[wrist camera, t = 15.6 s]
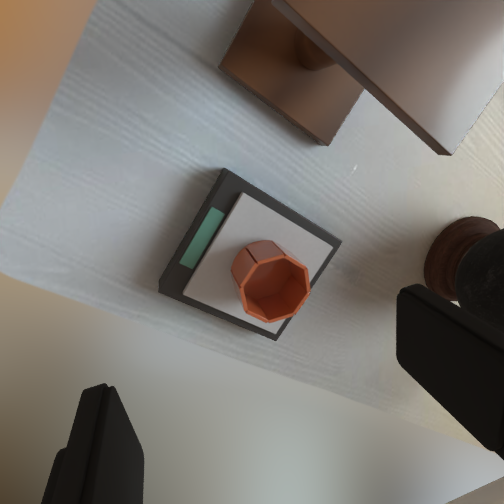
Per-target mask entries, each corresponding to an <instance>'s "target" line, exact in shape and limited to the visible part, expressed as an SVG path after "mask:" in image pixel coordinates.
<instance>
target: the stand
mask: <svg viewBox="0 0 504 504" xmlns="http://www.w3.org/2000/svg"><path fill="white" fill-rule="evenodd" d="M218 68H219V69H221V70H222V71H223V72H225V73H226V74H227V75H229V76H230V77H231V78H233V79H234V80H235V81H237V82H238V83H239V84H240V85H242V86H243V87H244V88H246V89H247V90H248V91H250V92H251V93H252V94H254V95H255V96H256V97H258V98H259V99H260V100H262V101H263V102H264V103H266V104H267V105H268V106H270V107H271V108H272V109H274V110H275V111H276V112H278V113H279V114H280V115H282V116H283V117H284V118H286V119H287V120H288V121H290V122H291V123H292V124H294V125H295V126H296V127H297V128H299V129H300V130H301V131H303V132H304V133H305V134H307V135H308V136H309V137H311V138H312V139H313V140H315V141H316V142H317V143H319V144H320V145H321V146H329V145H330V143H331V141H332V140H333V138H334V137H335V135H336V133H337V132H338V130H339V129H340V127H341V125H342V124H343V122H344V121H345V119H346V117H347V116H348V114H349V113H350V111H351V109H352V108H353V106H354V105H355V103H356V101H357V100H358V98H359V97H360V95H361V93H362V92H363V90H364V89H366V90H367V91H368V92H369V93H370V94H372V95H373V96H374V97H375V98H376V99H377V100H378V101H379V102H380V103H381V104H383V105H384V106H385V107H386V108H387V109H388V110H389V111H390V112H391V113H393V114H394V115H395V116H396V117H397V118H398V119H399V120H400V121H401V122H402V123H404V124H405V125H406V126H407V127H408V128H409V129H410V130H411V131H412V132H413V133H415V134H416V135H417V136H418V137H419V138H420V139H421V140H422V141H423V142H425V143H426V144H427V145H428V146H429V147H430V148H431V149H432V150H433V151H434V152H436V153H437V154H438V155H447V156H452V155H453V153H454V152H455V150H456V149H457V147H458V146H459V145H460V143H461V142H462V140H463V139H464V137H465V136H466V135H467V133H468V132H469V130H470V129H471V127H472V126H473V124H474V123H475V122H476V120H477V119H478V117H479V116H480V114H481V113H482V112H483V110H484V109H485V107H486V106H487V104H488V103H489V102H490V100H491V99H492V97H493V96H494V94H495V93H496V92H497V90H498V89H499V87H500V86H501V84H502V83H503V81H504V0H254V1H253V3H252V4H251V6H250V8H249V10H248V12H247V14H246V16H245V17H244V19H243V21H242V23H241V25H240V27H239V29H238V30H237V32H236V34H235V36H234V38H233V40H232V41H231V43H230V45H229V47H228V49H227V51H226V53H225V54H224V56H223V58H222V60H221V62H220V64H219V66H218Z"/></svg>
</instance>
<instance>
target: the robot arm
mask: <svg viewBox="0 0 504 504" xmlns="http://www.w3.org/2000/svg"><path fill="white" fill-rule="evenodd" d="M396 356H397V360H398V362H399V364H400V365H401V367H402V368H403V369H404V370H405V371H407V372H408V373H409V374H410V375H411V376H412V377H413V378H414V379H415V380H416V381H417V382H418V383H419V384H420V385H421V386H422V387H423V388H424V389H425V390H426V391H427V392H428V393H429V394H430V395H431V396H432V397H433V398H434V399H435V400H437V401H438V402H439V403H440V404H441V405H442V406H443V407H444V408H445V409H446V410H447V411H448V412H449V413H450V414H451V415H452V416H453V417H454V418H455V419H456V420H457V421H458V422H459V423H460V424H461V425H462V426H463V427H464V428H465V429H467V430H468V431H469V432H470V433H471V434H472V435H473V436H474V437H475V438H476V439H477V440H478V441H479V442H480V443H481V444H482V445H483V446H484V447H485V448H487V449H488V450H490V451H495V452H496V453H497V454H498V455H499V456H500V457H501V458H502V459H503V460H504V333H503V332H501V331H500V330H498V329H496V328H494V327H493V326H491V325H489V324H488V323H486V322H484V321H483V320H481V319H479V318H477V317H476V316H474V315H472V314H471V313H469V312H467V311H465V310H464V309H462V308H460V307H459V306H457V305H455V304H453V303H452V302H450V301H448V300H447V299H445V298H443V297H442V296H440V295H438V294H436V293H435V292H433V291H431V290H430V289H428V288H426V287H424V286H423V285H421V284H414V285H411V286H408V287H404V288H402V289H401V290H400V293H399V294H398V295H397V306H396ZM143 482H144V454H143V450H142V447H141V444H140V443H139V440H138V438H137V436H136V433H135V431H134V429H133V426H132V424H131V422H130V420H129V417H128V415H127V413H126V411H125V409H124V406H123V404H122V402H121V400H120V397H119V395H118V393H117V391H116V388H115V387H114V386H111V387H108V386H107V384H105V383H103V384H100V385H97V386H94V387H91V388H87V389H85V390H83V392H82V394H81V398H80V401H79V405H78V408H77V412H76V416H75V419H74V423H73V426H72V430H71V433H70V437H69V441H68V444H67V447H66V448H63V449H61V450H60V451H59V452H58V453H57V455H56V457H55V460H54V463H53V467H52V470H51V473H50V476H49V479H48V483H47V486H46V489H45V492H44V496H43V499H42V502H41V504H143ZM446 504H504V477H502V478H500V479H498V480H496V481H493V482H491V483H489V484H487V485H485V486H482V487H480V488H478V489H476V490H474V491H472V492H470V493H467V494H465V495H463V496H461V497H459V498H457V499H455V500H452V501H450V502H448V503H446Z"/></svg>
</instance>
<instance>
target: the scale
mask: <svg viewBox="0 0 504 504" xmlns="http://www.w3.org/2000/svg"><path fill="white" fill-rule="evenodd" d="M260 240H270V241H271V240H272V241H274V242H276V243H278V244H280V245H281V246H283V247H284V248H286V249H287V250H289V251H290V252H291V253H292V254H293V255H295V256H296V257H297V258H298V259H299V260H300V261H301V262H302V263H303V264H304V265H305V266H306V267H307V268H308V274H309V282H310V290H311V288H312V287H313V285H314V284H315V282H316V281H317V279H318V278H319V276H320V275H321V273H322V272H323V270H324V269H325V267H326V266H327V264H328V263H329V261H330V260H331V258H332V257H333V255H334V254H335V252H336V251H337V249H338V248H339V246H340V245H341V243H342V241H341V240H340V239H338V238H337V237H335V236H333V235H332V234H330V233H329V232H327V231H325V230H324V229H322V228H321V227H319V226H317V225H316V224H314V223H313V222H311V221H309V220H308V219H306V218H305V217H303V216H301V215H300V214H298V213H297V212H295V211H293V210H292V209H290V208H289V207H287V206H285V205H284V204H282V203H281V202H279V201H277V200H276V199H274V198H273V197H271V196H269V195H268V194H266V193H265V192H263V191H261V190H260V189H258V188H257V187H255V186H253V185H252V184H250V183H249V182H247V181H245V180H244V179H242V178H241V177H239V176H237V175H236V174H234V173H233V172H231V171H229V170H228V169H226V168H224V169H223V170H222V172H221V174H220V176H219V177H218V179H217V181H216V183H215V184H214V186H213V188H212V190H211V191H210V193H209V195H208V196H207V198H206V200H205V202H204V203H203V205H202V207H201V209H200V210H199V212H198V214H197V216H196V217H195V219H194V221H193V223H192V224H191V226H190V228H189V230H188V231H187V233H186V235H185V237H184V238H183V240H182V242H181V244H180V245H179V247H178V249H177V250H176V252H175V254H174V256H173V257H172V259H171V261H170V263H169V264H168V266H167V268H166V270H165V271H164V273H163V275H162V277H161V278H160V280H159V290H158V292H159V293H162V294H164V295H167V296H169V297H171V298H174V299H176V300H179V301H181V302H183V303H186V304H188V305H191V306H193V307H195V308H198V309H200V310H203V311H205V312H207V313H210V314H212V315H215V316H217V317H219V318H222V319H224V320H227V321H229V322H231V323H234V324H236V325H239V326H241V327H243V328H246V329H248V330H251V331H253V332H255V333H258V334H260V335H262V336H265V337H267V338H270V339H272V340H274V341H277V339H278V338H279V336H280V335H281V333H282V332H283V330H284V329H285V327H286V326H287V324H288V323H289V321H290V320H291V318H292V317H293V316H292V317H289V318H286V319H282V320H279V321H276V322H273V323H269V322H267V323H265V322H263V321H261V320H259V319H257V318H255V317H252V316H250V315H248V314H246V312H245V311H244V310H243V307H242V305H241V303H240V301H239V299H238V297H237V294H236V292H235V289H234V285H233V281H232V278H231V272H230V270H231V266H232V263H233V261H234V259H235V257H236V255H237V254H238V253H239V252H240V251H241V250H242V249H243V248H244V247H245V246H247V245H248V244H250V243H253V242H256V241H260ZM293 315H294V314H293Z"/></svg>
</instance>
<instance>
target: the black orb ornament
mask: <svg viewBox="0 0 504 504" xmlns="http://www.w3.org/2000/svg"><path fill="white" fill-rule="evenodd" d="M424 276H425V281H426V285H427V286H428V288H429V289H430V290H431V291H433V292H435V293H436V294H438V295H440V296H442V297H443V298H445V299H447V300H448V301H458V303H459V305H460V307H461V308H462V309H464V310H465V311H467V312H469V313H471V314H472V315H474V316H476V317H477V318H479V319H481V320H483V321H484V322H486V323H488V324H489V325H491V326H493V327H494V328H496V329H498V330H500V331H501V332H503V333H504V229H501V230H500V228H499V227H498V226H497V224H495V223H494V222H493V221H491V220H488V219H485V218H482V217H466V218H463V219H461V220H458V221H456V222H454V223H453V224H451V225H450V226H448V227H447V228H446V229H445V230H444V231H443V232H442V233H441V234H440V235H439V236H438V237H437V238H436V240H435V241H434V243H433V244H432V246H431V248H430V250H429V252H428V255H427V258H426V261H425V268H424Z"/></svg>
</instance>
